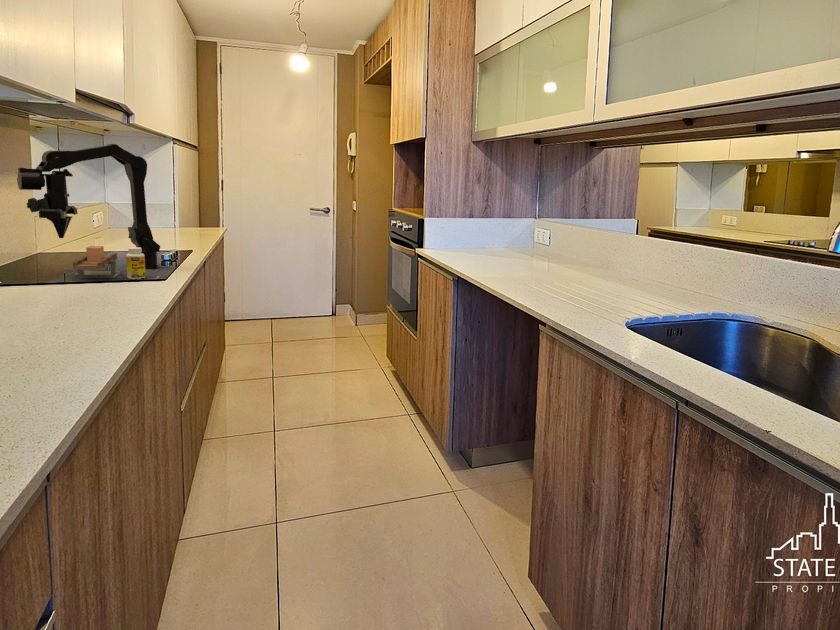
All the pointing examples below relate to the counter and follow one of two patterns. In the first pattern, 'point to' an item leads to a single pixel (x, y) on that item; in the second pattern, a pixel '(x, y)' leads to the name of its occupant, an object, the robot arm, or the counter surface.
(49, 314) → the counter surface
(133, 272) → the supplement bottle
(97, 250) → the rider block
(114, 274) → the pivot stand
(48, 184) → the robot arm
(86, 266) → the brown tray
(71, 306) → the counter surface
